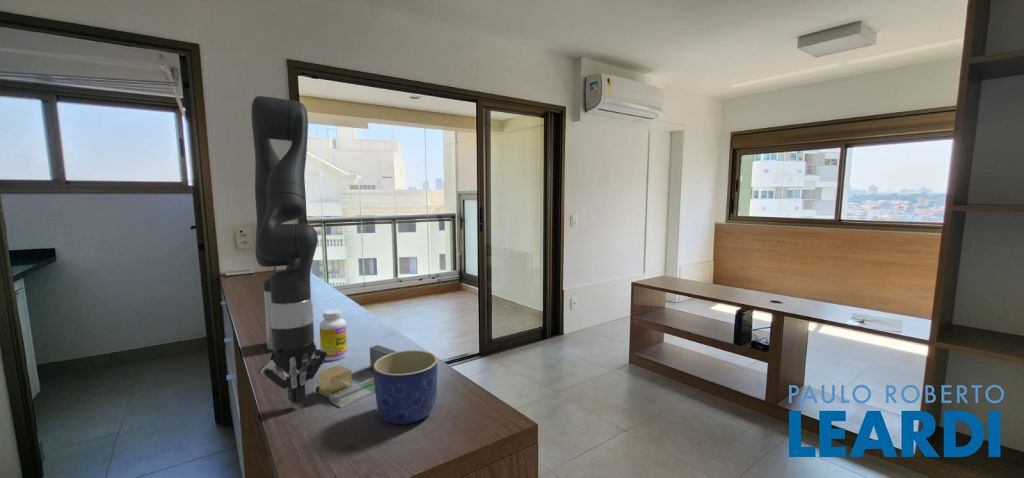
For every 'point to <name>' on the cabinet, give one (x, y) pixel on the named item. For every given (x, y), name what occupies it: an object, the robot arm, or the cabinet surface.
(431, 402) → the planter
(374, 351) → the grey open frame tray
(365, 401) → the cabinet surface
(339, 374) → the tan gold cube
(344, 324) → the supplement bottle
